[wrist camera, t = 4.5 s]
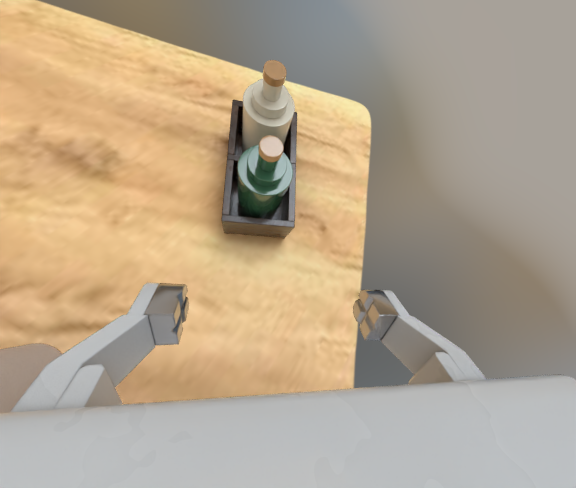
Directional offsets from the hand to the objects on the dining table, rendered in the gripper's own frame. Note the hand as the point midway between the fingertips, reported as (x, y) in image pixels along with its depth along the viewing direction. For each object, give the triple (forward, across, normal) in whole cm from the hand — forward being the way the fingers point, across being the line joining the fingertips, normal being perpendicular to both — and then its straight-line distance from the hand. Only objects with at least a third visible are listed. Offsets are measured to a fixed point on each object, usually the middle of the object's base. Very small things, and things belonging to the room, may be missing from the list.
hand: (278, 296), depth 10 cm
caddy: (+26, 0, +3) cm, 26 cm away
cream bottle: (+28, 0, 0) cm, 28 cm away
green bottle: (+22, 0, +5) cm, 23 cm away
